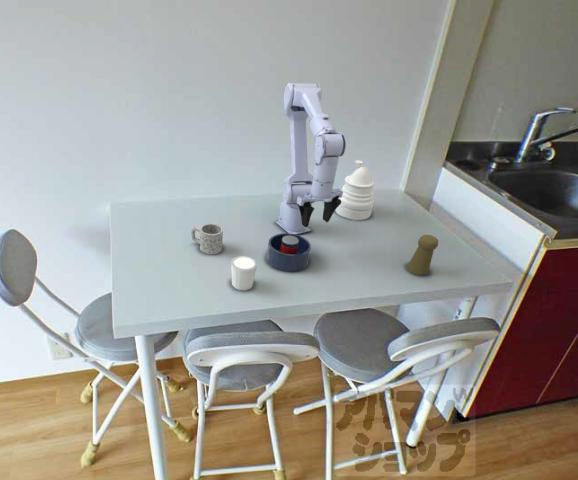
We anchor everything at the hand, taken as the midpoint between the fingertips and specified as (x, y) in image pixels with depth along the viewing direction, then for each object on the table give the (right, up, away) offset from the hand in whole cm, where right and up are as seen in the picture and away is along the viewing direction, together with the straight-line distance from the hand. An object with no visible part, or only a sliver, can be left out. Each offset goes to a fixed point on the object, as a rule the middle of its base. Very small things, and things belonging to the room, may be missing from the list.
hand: (315, 223), depth 123 cm
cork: (+30, -14, +1) cm, 33 cm away
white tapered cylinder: (-22, -18, -9) cm, 29 cm away
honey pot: (+19, +9, +30) cm, 36 cm away
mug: (-32, -7, +5) cm, 33 cm away
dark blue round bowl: (-8, -11, +2) cm, 13 cm away
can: (-8, -10, +1) cm, 13 cm away
